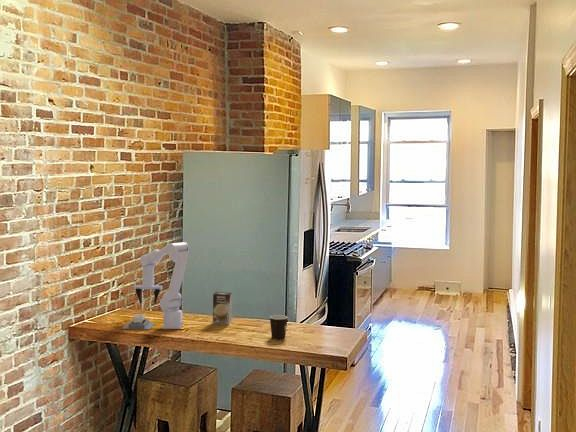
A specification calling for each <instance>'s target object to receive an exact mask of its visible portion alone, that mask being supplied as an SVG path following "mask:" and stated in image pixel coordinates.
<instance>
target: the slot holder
mask: <svg viewBox="0 0 576 432" xmlns="http://www.w3.org/2000/svg"><path fill="white" fill-rule="evenodd" d="M154 324H155V325H156V322H153V321H152V322H150V319H148V318H147V319H146V318H145V322H144V323H143V324H133V319H132V320H131V321H127V322H126V324H124V326H122V327H121V330H124V329H134V331H151V330H152V328H153V327H154V326H155V325H154Z"/></svg>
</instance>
